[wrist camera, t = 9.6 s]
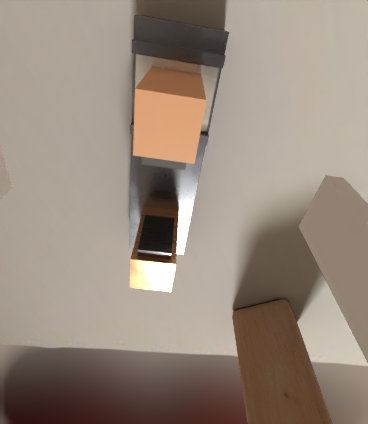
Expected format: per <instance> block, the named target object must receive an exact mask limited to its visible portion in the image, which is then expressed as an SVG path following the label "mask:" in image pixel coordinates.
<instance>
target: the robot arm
mask: <svg viewBox="0 0 368 424" xmlns="http://www.w3.org/2000/svg"><path fill="white" fill-rule="evenodd" d="M12 188H13V187H12V184H11V180H10V177H9V174H8V170H7V167H6V163H5V160H4V157H3V153H2V150H1V146H0V200H1V199H2V198H3V197H4V196H5V195H6V194H7V193H8V192H9V191H10V190H11V189H12ZM298 227H299V229H300V230H301V232H302V234H303V236H304V238H305V240H306V242H307V244H308V246H309V248H310V250H311V252H312V254H313V256H314V258H315V260H316V262H317V264H318V266H319V268H320V270H321V272H322V274H323V276H324V278H325V280H326V282H327V284H328V286H329V288H330V289H331V291H332V293H333V295H334V297H335V299H336V301H337V303H338V305H339V307H340V309H341V311H342V313H343V315H344V317H345V319H346V321H347V323H348V325H349V327H350V329H351V331H352V333H353V335H354V337H355V339H356V341H357V343H358V345H359V347H360V348H361V350H362V352H363V354H364V356H365V358H366V360H367V362H368V203H367V202H366V201H365V200H364V199H363V198H362V197H361V196H360V195H359V194H358V193H357V192H356V191H355V190H354V189H353V188H352V187H351V186H350V184H349V183H348V182H347V181H346V180H345V179H344V178H340V177H333V176H325V178H324V179H323V181H322V183H321V185H320V187H319V189H318V191H317V192H316V194H315V196H314V198H313V200H312V202H311V204H310V206H309V207H308V209H307V211H306V213H305V215H304V217H303V219H302V221H301V222H300V224H299V226H298Z"/></svg>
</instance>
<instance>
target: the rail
mask: <svg viewBox="0 0 368 424" xmlns="http://www.w3.org/2000/svg"><path fill="white" fill-rule="evenodd" d="M228 34H229V32H227V31H225V30H219V29H214V28H208V27H202V26H197V25H191V24H186V23H180V22H175V21H169V20H164V19H158V18H152V17H147V16H141V15H135V19H134V39H133V40H132V53H134V61H133V103H132V123H131V125H130V134H132V146H131V188H130V230H129V249H133V252H132V256H131V264H130V288H139V289H149V290H159V291H169V292H171V288H172V283H173V278H174V272H175V267H176V255H177V254H182V255H183V253H184V248H185V244H186V239H187V234H188V229H189V224H190V219H191V214H192V210H193V205H194V200H195V195H196V190H197V185H198V180H199V175H200V171H201V166H202V161H203V156H204V151H205V146H206V145H207V142H208V137H209V135H208V132H209V127H210V122H211V117H212V112H213V107H214V102H215V98H216V93H217V88H218V83H219V78H220V73H221V68H223V65H224V61H225V55H224V54H225V49H226V44H227V39H228ZM152 66H153V67H159V68H165V69H171V70H177V71H183V72H189V73H195V74H201V75H202V80H203V85H204V90H205V95H206V106H205V111H204V116H203V122H202V127H201V132H200V138H199V143H198V148H197V153H196V159H195V164H190V163H186V169H185V170H180V169H173V168H165V167H158V166H151V165H144V164H141V163H142V157H141V156H134V155H133V141H134V107H135V88H136V87H137V85H138V84H139V83H140V81H141V80H142V79H143V77H144V76H145V75H146V73H147V72H148V71H149V69H150V68H151V67H152Z"/></svg>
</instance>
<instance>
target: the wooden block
mask: <svg viewBox="0 0 368 424" xmlns="http://www.w3.org/2000/svg"><path fill="white" fill-rule="evenodd" d="M232 318H233V325H234V332H235V339H236V345H237V352H238V359H239V366H240V373H241V380H242V386H243V394H244V401H245V408H246V415H247V422H248V424H333V423H332V421H331V418H330V415H329V412H328V409H327V406H326V404H325V401H324V398H323V395H322V392H321V389H320V387H319V384H318V381H317V378H316V375H315V373H314V369H313V367H312V364H311V361H310V358H309V355H308V352H307V350H306V347H305V344H304V341H303V338H302V335H301V332H300V330H299V327H298V324H297V322H296V319H295V316H294V314H293V311H292V309H291V306H290V304H289V303H288V302H287V301H286V300H284V299H281V300H277V301H273V302H268V303H264V304H260V305H256V306H252V307H247V308H243V309H239V310H236V311H234V312H233V317H232Z"/></svg>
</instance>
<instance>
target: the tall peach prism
mask: <svg viewBox="0 0 368 424" xmlns="http://www.w3.org/2000/svg"><path fill="white" fill-rule="evenodd" d="M205 106H206V95H205V90H204V85H203V80H202V75H201V74H195V73H189V72H183V71H177V70H171V69H165V68H159V67H153V66H152V67H151V68H150V69H149V71H148V72H147V73H146V75H145V76H144V77H143V79H142V80H141V81H140V83H139V84H138V85H137V87H136V88H135V107H134V141H133V155H134V156H141V157H142V163H141V164H144V165H151V166H158V167H165V168H173V169H180V170H185V169H186V163H190V164H195V159H196V153H197V148H198V143H199V138H200V132H201V127H202V122H203V116H204V111H205Z"/></svg>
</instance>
